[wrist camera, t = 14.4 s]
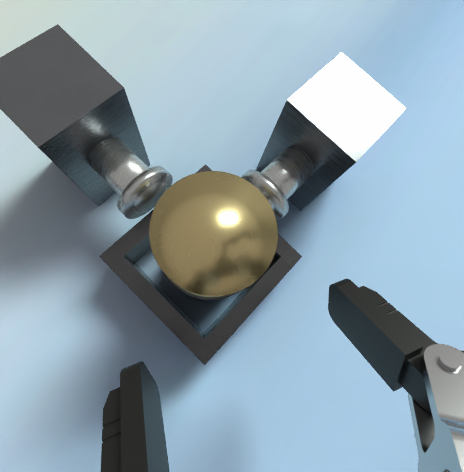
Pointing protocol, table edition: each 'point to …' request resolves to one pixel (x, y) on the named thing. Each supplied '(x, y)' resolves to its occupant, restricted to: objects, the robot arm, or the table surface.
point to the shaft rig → (159, 180)
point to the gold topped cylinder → (213, 234)
